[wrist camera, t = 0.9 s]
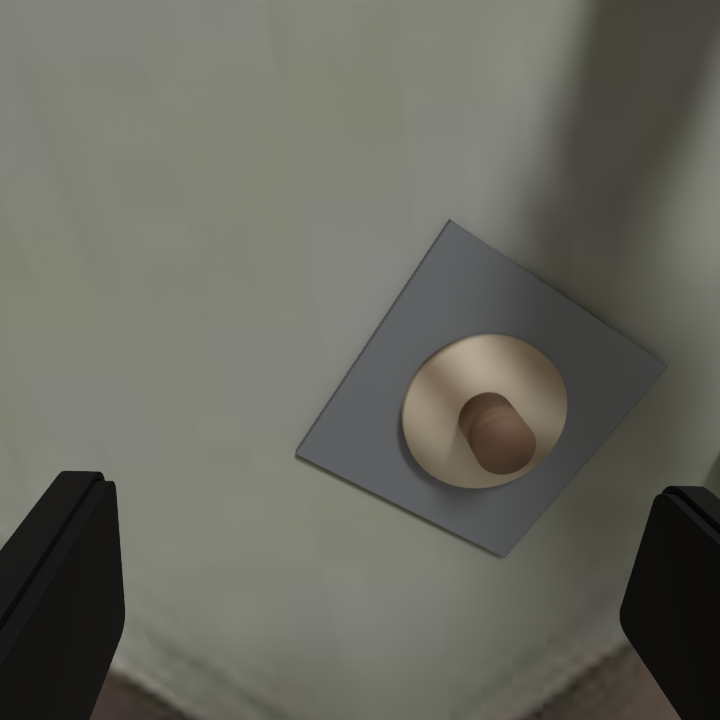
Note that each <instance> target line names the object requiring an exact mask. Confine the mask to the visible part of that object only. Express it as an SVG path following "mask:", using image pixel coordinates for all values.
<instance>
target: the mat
mask: <svg viewBox="0 0 720 720" xmlns="http://www.w3.org/2000/svg"><path fill="white" fill-rule="evenodd" d="M488 333H494V334H504V335H508V336H513V337H516V338H518V339H521V340H523V341H525V342H527V343H529V344H531V345H532V346H534V347H535V348H536V349H538V350H539V351H540V352H541V353H542V354H543V355H545V356H546V357H547V358H548V359H549V360H550V361H551V362H552V363H553V365H554V366H555V368H556V369H557V370H558V372H559V374H560V376H561V378H562V380H563V383H564V386H565V389H566V395H567V414H566V420H565V424H564V427H563V430H562V432H561V435H560V437H559V439H558V441H557V442H556V444H555V446H554V447H553V449H552V450H551V451H550V453H549V454H548V455H547V456H546V457H545V458H544V459H543V460H542V461H541V462H540V463H539V464H538V465H537V466H536V467H535V468H533V469H532V470H530V471H529V472H528V473H526V474H524V475H523V476H521V477H519V478H517V479H515V480H513V481H510V482H508V483H505V484H501V485H498V486H493V487H488V488H464V487H458V486H454V485H450V484H447V483H445V482H443V481H440V480H438V479H437V478H435V477H433V476H432V475H430V474H429V473H428V472H427V471H425V470H424V469H423V468H422V467H421V466H420V465H419V464H418V462H417V461H416V460H415V458H414V457H413V455H412V453H411V451H410V449H409V447H408V445H407V441H406V438H405V435H404V432H403V428H402V421H401V409H402V402H403V398H404V394H405V391H406V389H407V386H408V384H409V382H410V380H411V378H412V377H413V375H414V374H415V372H416V371H417V369H418V368H419V367H420V366H421V364H422V363H423V362H424V361H425V360H426V359H427V358H428V357H429V356H431V355H432V354H433V353H435V352H436V351H437V350H439V349H440V348H442V347H444V346H445V345H447V344H449V343H451V342H453V341H455V340H458V339H461V338H464V337H467V336H471V335H477V334H488ZM667 367H668V366H667V365H665V364H664V363H662V362H661V361H659V360H658V359H656V358H655V357H653V356H652V355H650V354H649V353H648V352H646V351H645V350H643V349H642V348H640V347H639V346H637V345H636V344H634V343H633V342H631V341H630V340H628V339H627V338H625V337H624V336H622V335H621V334H619V333H618V332H616V331H615V330H613V329H612V328H610V327H609V326H607V325H606V324H604V323H603V322H602V321H600V320H599V319H597V318H596V317H594V316H593V315H591V314H590V313H588V312H587V311H585V310H584V309H582V308H581V307H579V306H578V305H576V304H575V303H573V302H572V301H570V300H569V299H567V298H566V297H564V296H563V295H561V294H560V293H558V292H557V291H556V290H554V289H553V288H551V287H550V286H548V285H547V284H545V283H544V282H542V281H541V280H539V279H538V278H536V277H535V276H533V275H532V274H530V273H529V272H527V271H526V270H524V269H523V268H521V267H520V266H518V265H517V264H515V263H514V262H512V261H511V260H510V259H508V258H507V257H505V256H504V255H502V254H501V253H499V252H498V251H496V250H495V249H493V248H492V247H490V246H489V245H487V244H486V243H484V242H483V241H481V240H480V239H478V238H477V237H475V236H474V235H472V234H471V233H469V232H468V231H466V230H465V229H464V228H462V227H461V226H459V225H458V224H456V223H455V222H453V221H452V220H450V219H449V220H448V222H447V223H446V225H445V226H444V228H443V229H442V231H441V232H440V234H439V235H438V237H437V238H436V240H435V241H434V243H433V244H432V246H431V247H430V249H429V250H428V252H427V253H426V255H425V256H424V258H423V259H422V261H421V262H420V264H419V265H418V267H417V268H416V270H415V271H414V273H413V275H412V276H411V278H410V279H409V281H408V282H407V284H406V285H405V287H404V288H403V290H402V291H401V293H400V294H399V296H398V297H397V299H396V300H395V302H394V303H393V305H392V306H391V308H390V309H389V311H388V312H387V314H386V315H385V317H384V318H383V320H382V321H381V323H380V324H379V326H378V327H377V329H376V330H375V332H374V333H373V335H372V336H371V338H370V339H369V341H368V342H367V344H366V345H365V347H364V348H363V350H362V351H361V353H360V354H359V356H358V357H357V359H356V360H355V362H354V363H353V365H352V367H351V368H350V370H349V371H348V373H347V374H346V376H345V377H344V379H343V380H342V382H341V383H340V385H339V386H338V388H337V389H336V391H335V392H334V394H333V395H332V397H331V398H330V400H329V401H328V403H327V404H326V406H325V407H324V409H323V410H322V412H321V413H320V415H319V416H318V418H317V419H316V421H315V422H314V424H313V425H312V427H311V428H310V430H309V431H308V433H307V434H306V436H305V437H304V439H303V440H302V442H301V443H300V445H299V446H298V448H297V449H296V454H297V455H299V456H301V457H303V458H305V459H307V460H309V461H311V462H313V463H315V464H317V465H319V466H321V467H323V468H325V469H327V470H329V471H331V472H333V473H335V474H337V475H339V476H341V477H343V478H345V479H347V480H349V481H351V482H353V483H355V484H357V485H359V486H361V487H363V488H365V489H367V490H369V491H371V492H373V493H375V494H377V495H379V496H381V497H383V498H385V499H387V500H389V501H391V502H393V503H395V504H398V505H400V506H402V507H404V508H406V509H408V510H410V511H412V512H414V513H416V514H418V515H420V516H422V517H424V518H426V519H428V520H430V521H432V522H434V523H436V524H438V525H440V526H442V527H444V528H446V529H448V530H450V531H452V532H454V533H456V534H458V535H460V536H462V537H464V538H466V539H468V540H470V541H472V542H474V543H476V544H478V545H480V546H482V547H484V548H486V549H488V550H490V551H492V552H494V553H496V554H498V555H500V556H502V557H504V558H505V557H506V556H507V555H508V553H509V552H510V551H511V550H512V549H513V548H514V546H515V545H516V544H517V543H518V542H519V540H520V539H521V538H522V537H523V536H524V535H525V533H526V532H527V531H528V530H529V529H530V528H531V526H532V525H533V524H534V523H535V522H536V521H537V519H538V518H539V517H540V516H541V515H542V513H543V512H544V511H545V510H546V509H547V508H548V506H549V505H550V504H551V503H552V502H553V501H554V499H555V498H556V497H557V496H558V495H559V493H560V492H561V491H562V490H563V489H564V488H565V486H566V485H567V484H568V483H569V482H570V481H571V479H572V478H573V477H574V476H575V475H576V473H577V472H578V471H579V470H580V469H581V468H582V466H583V465H584V464H585V463H586V462H587V461H588V459H589V458H590V457H591V456H592V455H593V453H594V452H595V451H596V450H597V449H598V448H599V446H600V445H601V444H602V443H603V442H604V441H605V439H606V438H607V437H608V436H609V435H610V434H611V432H612V431H613V430H614V429H615V428H616V426H617V425H618V424H619V423H620V422H621V421H622V419H623V418H624V417H625V416H626V415H627V414H628V412H629V411H630V410H631V409H632V408H633V406H634V405H635V404H636V403H637V402H638V401H639V399H640V398H641V397H642V396H643V395H644V394H645V392H646V391H647V390H648V389H649V388H650V386H651V385H652V384H653V383H654V382H655V381H656V379H657V378H658V377H659V376H660V375H661V374H662V372H663V371H664V370H665V369H666V368H667Z"/></svg>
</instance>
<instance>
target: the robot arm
mask: <svg viewBox="0 0 720 720" xmlns="http://www.w3.org/2000/svg"><path fill="white" fill-rule="evenodd" d="M124 621H125V603H124V589H123V576H122V562H121V549H120V535H119V522H118V508H117V494H116V486H115V483H114V482H113V481H105V479H104V476H103V474H102V473H101V472H93V471H62V472H61V473H60V474H59V475H58V476H57V477H56V479H55V480H54V481H53V483H52V484H51V485H50V486H49V488H48V489H47V490H46V492H45V493H44V494H43V496H42V497H41V498H40V499H39V501H38V502H37V503H36V505H35V506H34V507H33V509H32V510H31V511H30V513H29V514H28V515H27V516H26V518H25V519H24V520H23V522H22V523H21V524H20V526H19V527H18V528H17V529H16V531H15V532H14V533H13V535H12V536H11V537H10V539H9V540H8V541H7V543H6V544H5V545H4V546H3V548H2V549H1V550H0V720H89V719H90V717H91V714H92V711H93V709H94V706H95V704H96V701H97V698H98V696H99V693H100V690H101V688H102V685H103V683H104V680H105V677H106V675H107V672H108V670H109V667H110V664H111V662H112V659H113V656H114V654H115V651H116V649H117V646H118V643H119V641H120V638H121V635H122V632H123V627H124ZM620 623H621V626H622V629H623V631H624V633H625V635H626V636H627V638H628V639H629V641H630V642H631V644H632V645H633V647H634V648H635V650H636V651H637V653H638V654H639V656H640V657H641V659H642V660H643V662H644V664H645V665H646V667H647V668H648V670H649V671H650V673H651V674H652V676H653V677H654V679H655V680H656V682H657V683H658V685H659V686H660V688H661V689H662V691H663V692H664V694H665V695H666V697H667V698H668V700H669V701H670V703H671V704H672V706H673V707H674V709H675V710H676V712H677V713H678V715H679V716H680V718H681V719H682V720H720V499H719V498H717V497H716V496H715V495H714V494H713V493H711V492H710V491H709V490H707V489H706V488H704V487H699V486H669V487H666V488H665V489H664V490H663V492H662V494H659V495H657V496H656V497H655V499H654V501H653V505H652V508H651V511H650V514H649V518H648V521H647V524H646V527H645V531H644V534H643V537H642V540H641V543H640V547H639V550H638V553H637V556H636V560H635V563H634V566H633V569H632V573H631V576H630V579H629V582H628V586H627V589H626V592H625V595H624V599H623V602H622V605H621V608H620Z"/></svg>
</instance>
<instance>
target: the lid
mask: <svg viewBox="0 0 720 720" xmlns="http://www.w3.org/2000/svg"><path fill="white" fill-rule="evenodd" d="M566 414H567V395H566V389H565V386H564V383H563V380H562V378H561V376H560V374H559V372H558V370H557V369H556V368H555V366H554V365H553V363H552V362H551V361H550V360H549V359H548V358H547V357H546V356H545V355H543V354H542V353H541V352H540V351H539V350H538V349H536V348H535V347H534V346H532V345H531V344H529V343H527V342H525V341H523V340H521V339H518V338H516V337H513V336H508V335H504V334H494V333H488V334H477V335H471V336H467V337H464V338H461V339H458V340H455V341H453V342H451V343H449V344H447V345H445V346H444V347H442V348H440V349H439V350H437V351H436V352H435V353H433V354H432V355H431V356H429V357H428V358H427V359H426V360H425V361H424V362H423V363H422V364H421V366H420V367H419V368H418V369H417V371H416V372H415V374H414V375H413V377H412V378H411V380H410V382H409V384H408V386H407V389H406V391H405V394H404V398H403V402H402V409H401V421H402V428H403V432H404V435H405V438H406V441H407V445H408V447H409V449H410V451H411V453H412V455H413V457H414V458H415V460H416V461H417V462H418V464H419V465H420V466H421V467H422V468H423V469H424V470H425V471H427V472H428V473H429V474H430V475H432V476H433V477H435V478H437V479H438V480H440V481H443V482H445V483H447V484H450V485H454V486H458V487H464V488H488V487H493V486H498V485H501V484H505V483H508V482H510V481H513V480H515V479H517V478H519V477H521V476H523V475H524V474H526V473H528V472H529V471H530V470H532V469H533V468H535V467H536V466H537V465H538V464H539V463H540V462H541V461H542V460H543V459H544V458H545V457H546V456H547V455H548V454H549V453H550V451H551V450H552V449H553V447H554V446H555V444H556V442H557V441H558V439H559V437H560V435H561V432H562V430H563V427H564V424H565V420H566Z"/></svg>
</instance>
